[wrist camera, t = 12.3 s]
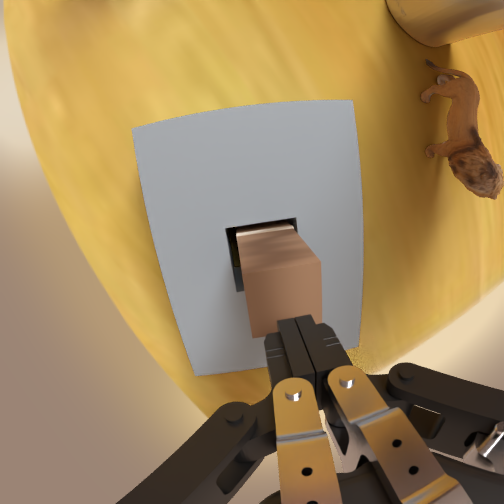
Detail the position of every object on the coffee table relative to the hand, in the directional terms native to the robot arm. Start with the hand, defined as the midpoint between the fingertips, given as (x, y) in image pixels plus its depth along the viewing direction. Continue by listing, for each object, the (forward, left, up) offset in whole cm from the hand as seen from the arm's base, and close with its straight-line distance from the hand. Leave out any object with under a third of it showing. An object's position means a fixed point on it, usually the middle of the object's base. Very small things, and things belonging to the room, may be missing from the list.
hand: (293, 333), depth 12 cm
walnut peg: (0, 0, -15) cm, 15 cm away
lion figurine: (-21, -10, -15) cm, 28 cm away
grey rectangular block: (0, 0, -15) cm, 15 cm away
